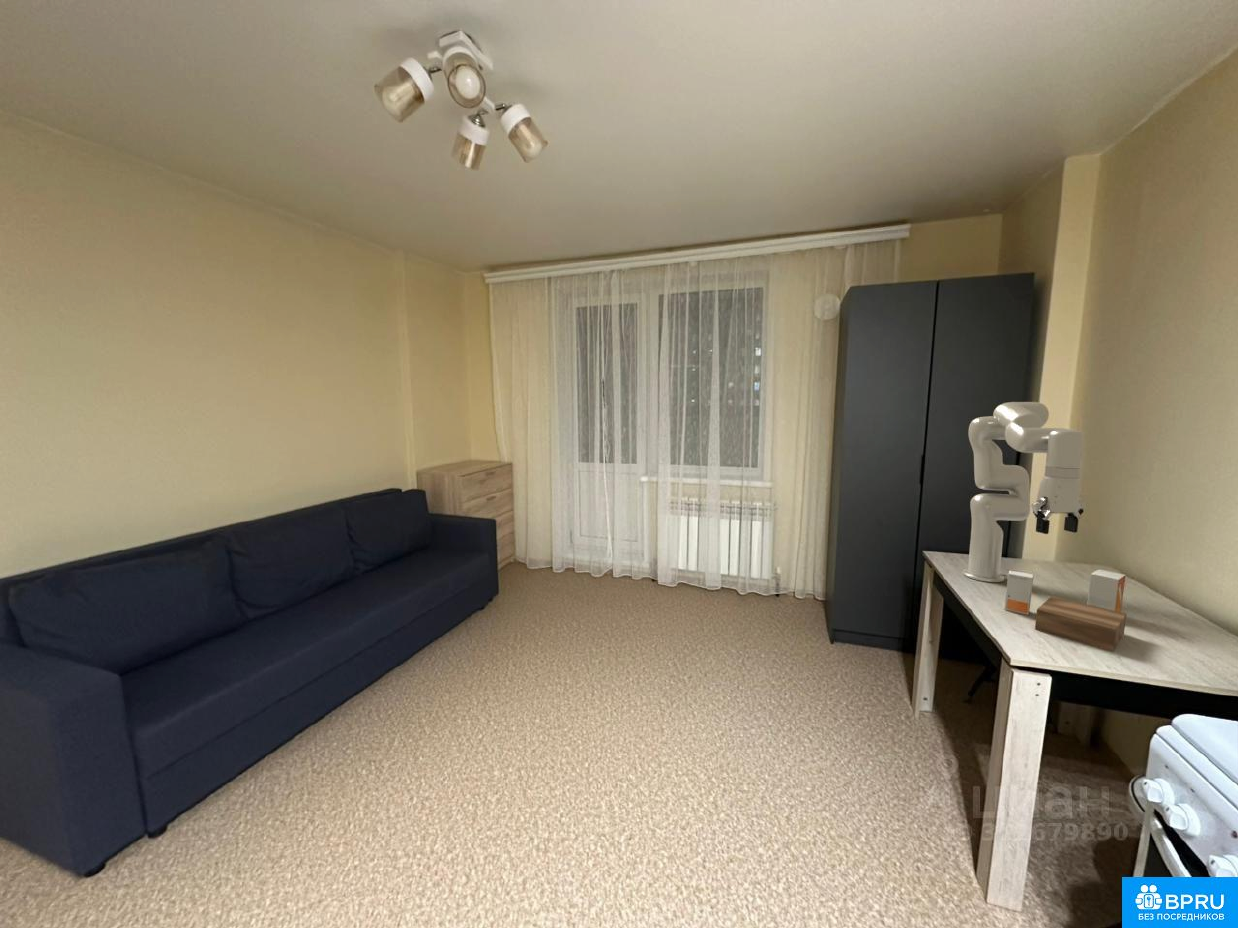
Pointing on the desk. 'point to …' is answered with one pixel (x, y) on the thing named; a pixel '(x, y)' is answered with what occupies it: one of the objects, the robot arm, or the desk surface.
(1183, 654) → the desk surface
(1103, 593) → the small box
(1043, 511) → the robot arm
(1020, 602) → the skincare box
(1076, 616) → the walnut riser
